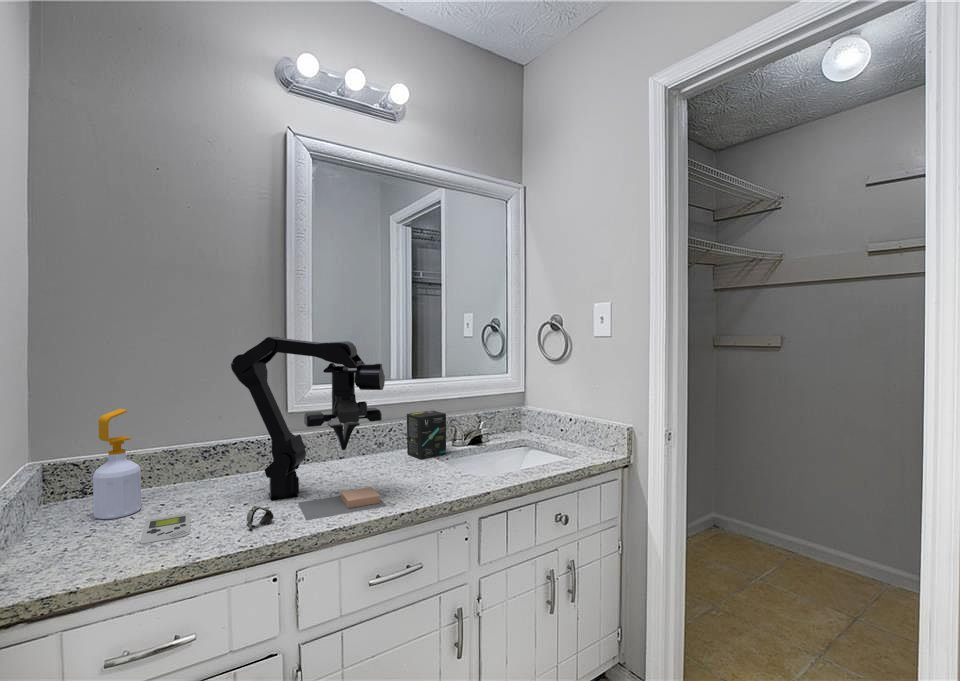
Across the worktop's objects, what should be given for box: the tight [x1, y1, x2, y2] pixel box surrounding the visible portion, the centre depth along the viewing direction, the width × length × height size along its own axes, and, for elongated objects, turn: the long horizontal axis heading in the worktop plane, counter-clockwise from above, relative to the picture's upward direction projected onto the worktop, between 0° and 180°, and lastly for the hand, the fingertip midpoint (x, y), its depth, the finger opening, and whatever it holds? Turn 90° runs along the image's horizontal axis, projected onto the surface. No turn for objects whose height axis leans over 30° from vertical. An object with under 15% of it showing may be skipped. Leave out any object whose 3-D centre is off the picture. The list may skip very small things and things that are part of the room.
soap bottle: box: [92, 408, 142, 520], centre depth 116 cm, size 9×9×25 cm
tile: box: [340, 486, 381, 508], centre depth 123 cm, size 2×8×8 cm
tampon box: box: [406, 409, 447, 460], centre depth 171 cm, size 11×9×15 cm
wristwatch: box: [246, 505, 275, 530], centre depth 108 cm, size 3×5×5 cm
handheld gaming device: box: [139, 512, 192, 545], centre depth 108 cm, size 9×1×15 cm
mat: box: [297, 495, 388, 521], centre depth 121 cm, size 19×13×1 cm
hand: (343, 449), depth 127 cm, fingers closed
